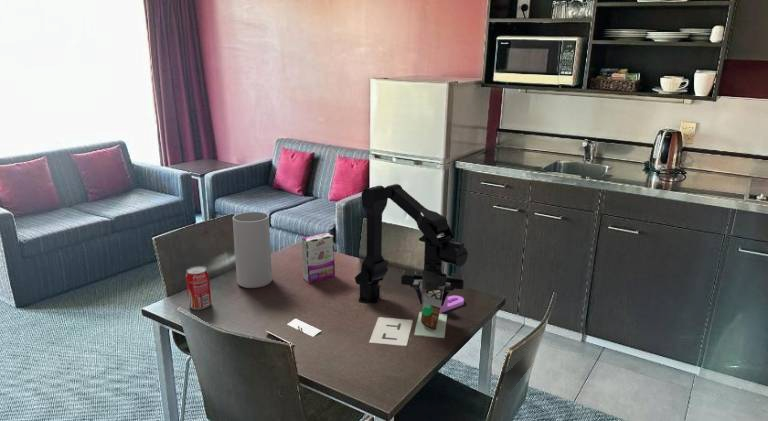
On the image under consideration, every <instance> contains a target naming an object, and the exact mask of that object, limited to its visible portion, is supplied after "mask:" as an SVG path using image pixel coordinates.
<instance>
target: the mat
mask: <svg viewBox="0 0 768 421" xmlns="http://www.w3.org/2000/svg"><path fill="white" fill-rule="evenodd" d="M421 316H422V311H419V312H418V317H417V321H416V324H415V330H414V333H413V334H414V335H413V336H416V337H427V338H439V339H445V336H446V326H447V319H448V314H446V313H440V314H439V318H438V322H437V327H436V330H433V329H430V328H428V327H426V326H424V325H423V324H422V323H421Z"/></svg>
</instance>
